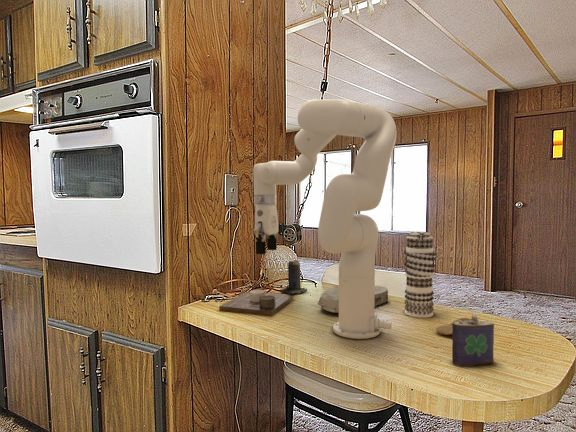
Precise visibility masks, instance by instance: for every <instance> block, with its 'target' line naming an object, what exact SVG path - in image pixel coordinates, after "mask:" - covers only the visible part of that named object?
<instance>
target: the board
mask: <svg viewBox="0 0 576 432" xmlns="http://www.w3.org/2000/svg"><path fill="white" fill-rule="evenodd" d="M266 295H270V296H274V297H275V307H274V308H272V309H262V308H260V307H259V302H252V301H250V291H245V292H242V293H241V294H239V295H238V296H236V297H233V298H232V299H230V300H228V301H227V302H224V303H223V304H220V305H219V307H218V308H219V312H230V313H238V314H248V315H256V316H266V317H267V316H268V317H273V316H274V315H275V314H276V313H277V312H279V311H280V310H281V309H284V307H286V306H287V305H288V304H290V303H291V302H292V301H294V294H293V295H292V294H283V293H282V294H281V293H270V292H265V296H266Z"/></svg>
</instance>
